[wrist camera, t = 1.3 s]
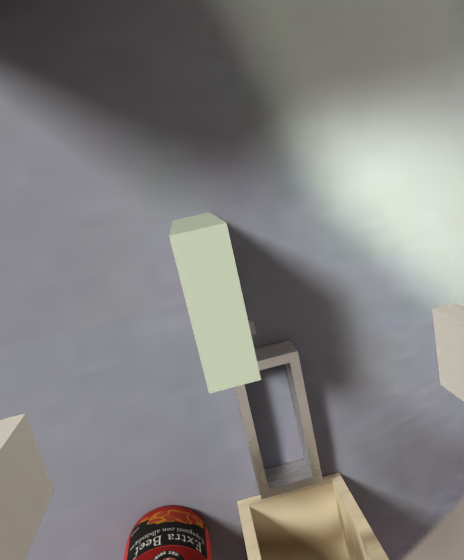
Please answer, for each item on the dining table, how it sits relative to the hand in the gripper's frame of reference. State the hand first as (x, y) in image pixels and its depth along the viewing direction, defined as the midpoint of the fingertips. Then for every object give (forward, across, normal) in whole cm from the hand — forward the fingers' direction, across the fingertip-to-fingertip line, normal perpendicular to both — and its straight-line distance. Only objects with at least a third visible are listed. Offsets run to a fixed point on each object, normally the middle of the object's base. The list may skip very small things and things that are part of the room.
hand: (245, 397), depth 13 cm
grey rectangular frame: (+21, +3, -14) cm, 26 cm away
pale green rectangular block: (+21, 0, 0) cm, 21 cm away
